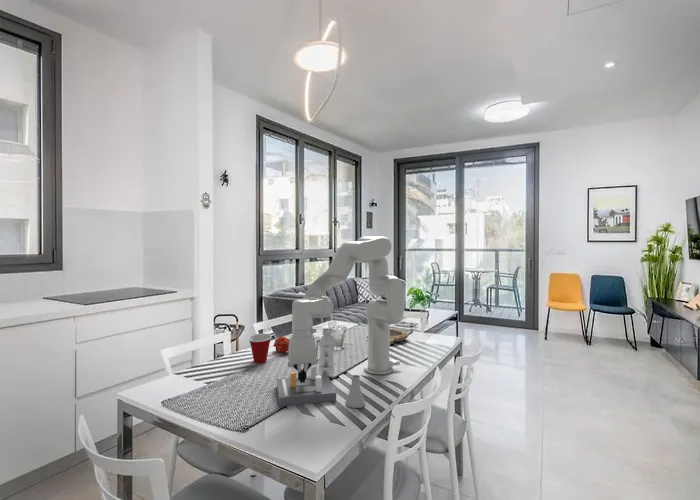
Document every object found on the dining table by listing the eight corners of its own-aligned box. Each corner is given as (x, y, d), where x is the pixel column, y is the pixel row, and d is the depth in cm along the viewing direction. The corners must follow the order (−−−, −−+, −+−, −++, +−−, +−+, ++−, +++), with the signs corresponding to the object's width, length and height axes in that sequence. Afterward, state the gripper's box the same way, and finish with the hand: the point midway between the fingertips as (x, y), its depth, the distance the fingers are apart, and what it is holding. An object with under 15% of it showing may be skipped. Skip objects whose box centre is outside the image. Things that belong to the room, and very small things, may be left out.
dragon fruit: (276, 352, 196) (291, 360, 189) (266, 345, 190) (281, 353, 183) (284, 337, 199) (300, 345, 192) (275, 330, 193) (290, 338, 186)
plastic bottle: (318, 374, 160) (318, 327, 159) (334, 373, 161) (334, 327, 160) (318, 379, 154) (318, 331, 153) (334, 379, 154) (335, 331, 154)
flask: (363, 410, 127) (364, 381, 127) (343, 407, 128) (343, 379, 128) (367, 401, 134) (367, 373, 134) (347, 399, 135) (347, 371, 135)
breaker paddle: (295, 384, 140) (295, 371, 140) (296, 387, 138) (296, 373, 138) (290, 385, 140) (290, 371, 139) (290, 387, 137) (290, 374, 137)
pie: (367, 333, 233) (368, 325, 232) (412, 335, 230) (412, 327, 230) (365, 346, 205) (365, 337, 205) (415, 348, 202) (415, 339, 202)
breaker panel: (326, 382, 151) (327, 362, 151) (336, 401, 134) (336, 378, 133) (276, 386, 146) (276, 365, 146) (279, 406, 129) (279, 383, 128)
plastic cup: (243, 363, 173) (243, 337, 172) (257, 356, 183) (257, 332, 182) (262, 366, 169) (262, 340, 168) (276, 359, 179) (276, 334, 178)
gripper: (320, 329, 144) (320, 376, 145) (281, 331, 141) (281, 379, 141) (323, 334, 137) (323, 383, 138) (282, 336, 133) (282, 387, 134)
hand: (302, 381), depth 139 cm, fingers closed
